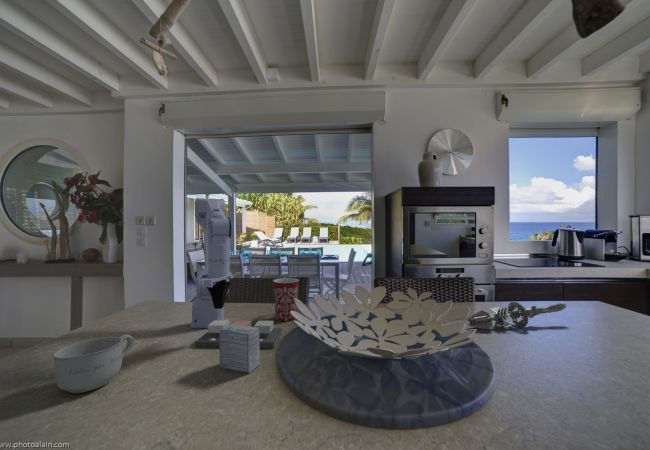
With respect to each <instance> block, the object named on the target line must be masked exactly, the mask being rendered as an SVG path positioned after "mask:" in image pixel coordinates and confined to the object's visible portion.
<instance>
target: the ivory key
mask: <svg viewBox="0 0 650 450" xmlns="http://www.w3.org/2000/svg"><path fill="white" fill-rule="evenodd" d="M227 326H230V320H228V321H222V320H214V321H213V322H212V323H210V324H209V325H208V328H207V332H208V333H220V330H222V329H223V328H225V327H227Z"/></svg>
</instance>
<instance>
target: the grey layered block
mask: <svg viewBox="0 0 650 450" xmlns="http://www.w3.org/2000/svg"><path fill="white" fill-rule="evenodd" d="M260 350H261V348H260V347H259V328H257V327H254V326H251V327H249V326H241V325H232V324H229V326H227V327H225V328H223V329H222V330H220V348H219V368H220V369H223V370H228V371H229V370H230V371H235V372H242V373H246V374H251V373H252V372H253V371H254V370H256V368H257V367H258V366H260V363H261V351H260Z"/></svg>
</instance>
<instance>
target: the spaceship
mask: <svg viewBox="0 0 650 450" xmlns="http://www.w3.org/2000/svg"><path fill="white" fill-rule="evenodd" d="M566 308H567V304H564V303H556V304H550V305H547V306H546V305H545V306H537V305H535V304H534V305H531V307H527V308H526V307H525V306H523V305H522V304H521V303H520V302H518V301H511V302H510V303H508V305H507V307H501V308H500V307H497V306H496V307H493V308H492V307H491V308H489V309H490V310H492V311H493V312H492V313H489V312H487V311H485V310H480V311H478V312H476V313H474V314H472V315H471V316H470V317H468V318H467V321H468V322H469V323H468V326H469V327H473V328H476V329H480V330H481V329H482V330H489V329H491V327H492V326H493V322H492V321H494V323H495V324H494V326H495V327H500V326H501V327H502V328H504V329H505V328H509V327H513V325H511V324H510V323H509V322H512V323H513V324H514V325H515V326H517V325H518V326H517V327H519V326H520V327H519V328H525V327H526V326H528V323H529V319H534V317H536V316H539V315H541V314H549V313H550V314H551V313H557V312H561V311H563V310H565V309H566ZM499 325H500V326H499Z"/></svg>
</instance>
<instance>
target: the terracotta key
mask: <svg viewBox="0 0 650 450" xmlns="http://www.w3.org/2000/svg"><path fill="white" fill-rule="evenodd" d="M231 325H241V326H249V327H252V320H235V321H234V322H233V323H231Z"/></svg>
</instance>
